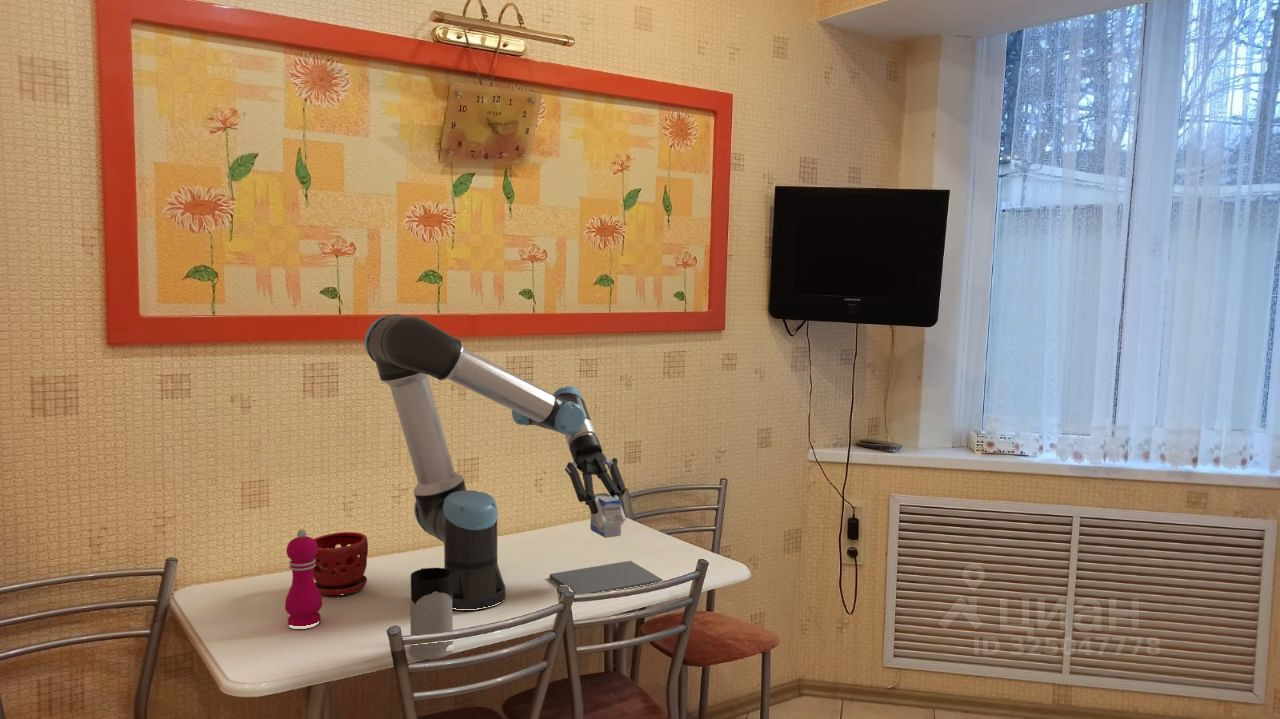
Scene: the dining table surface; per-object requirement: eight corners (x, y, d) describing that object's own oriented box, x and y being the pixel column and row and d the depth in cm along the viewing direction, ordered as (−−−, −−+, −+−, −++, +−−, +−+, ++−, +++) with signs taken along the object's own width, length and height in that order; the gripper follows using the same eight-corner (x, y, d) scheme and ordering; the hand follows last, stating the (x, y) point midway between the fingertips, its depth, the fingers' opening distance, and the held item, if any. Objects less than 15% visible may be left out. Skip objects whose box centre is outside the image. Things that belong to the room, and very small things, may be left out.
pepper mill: (286, 633, 176) (283, 536, 175) (284, 621, 183) (282, 527, 181) (324, 628, 179) (321, 532, 177) (321, 615, 186) (319, 523, 184)
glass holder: (412, 662, 163) (411, 584, 162) (400, 634, 176) (399, 561, 175) (459, 654, 167) (458, 577, 165) (444, 628, 180) (443, 556, 178)
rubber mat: (577, 599, 197) (577, 594, 196) (549, 578, 211) (549, 574, 210) (662, 583, 207) (662, 579, 207) (630, 564, 221) (630, 560, 221)
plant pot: (338, 577, 210) (337, 528, 209) (380, 585, 204) (379, 535, 203) (295, 594, 199) (294, 542, 198) (338, 604, 193) (337, 550, 192)
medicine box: (590, 530, 210) (589, 494, 210) (606, 527, 213) (606, 492, 212) (604, 538, 204) (604, 501, 203) (621, 535, 206) (621, 499, 205)
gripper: (609, 447, 224) (640, 526, 211) (546, 453, 216) (574, 536, 203) (619, 430, 219) (651, 510, 206) (554, 435, 211) (583, 519, 198)
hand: (612, 522), depth 204 cm, fingers closed on medicine box, 4 cm apart
